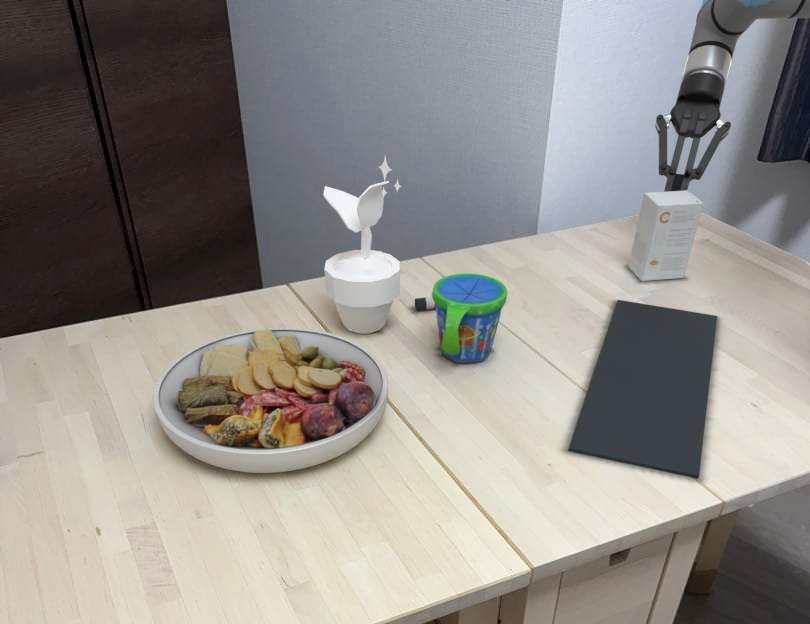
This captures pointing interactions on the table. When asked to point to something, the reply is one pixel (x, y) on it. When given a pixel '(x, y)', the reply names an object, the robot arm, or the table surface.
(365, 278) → the potted plant
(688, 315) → the slate mat
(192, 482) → the table surface
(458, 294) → the snack cup
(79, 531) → the table surface
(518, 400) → the table surface
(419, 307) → the marker
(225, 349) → the bowl
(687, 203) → the small box
